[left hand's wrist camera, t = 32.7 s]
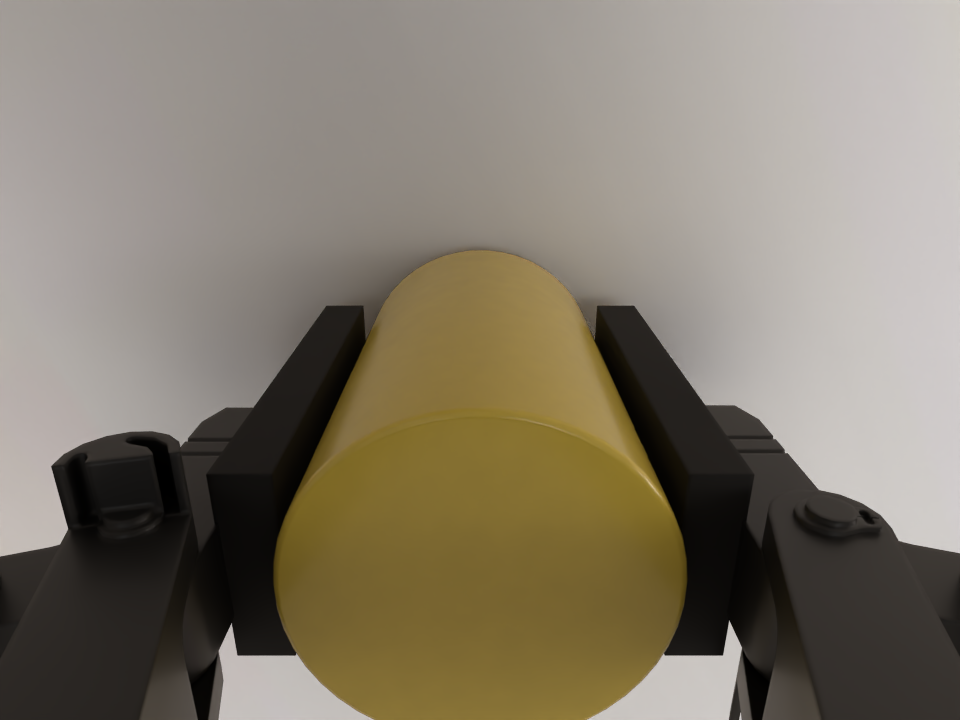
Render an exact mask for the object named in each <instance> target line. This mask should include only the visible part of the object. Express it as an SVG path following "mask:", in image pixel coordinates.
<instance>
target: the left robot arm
mask: <svg viewBox="0 0 960 720" xmlns="http://www.w3.org/2000/svg"><path fill="white" fill-rule="evenodd" d="M365 342H366V339H365V324H364V309H363V306H326V307H325V309H324V310H323V311H322V313H321V314H320V316H319V317H318V318H317V320H316V321H315V323H314V324H313V325H312V327H311V328H310V330H309V331H308V332H307V334H306V335H305V337H304V338H303V339H302V341H301V342H300V344H299V345H298V346H297V348H296V349H295V351H294V352H293V353H292V355H291V356H290V358H289V359H288V360H287V362H286V363H285V365H284V366H283V367H282V369H281V370H280V372H279V373H278V374H277V376H276V377H275V379H274V380H273V381H272V383H271V384H270V386H269V387H268V388H267V390H266V391H265V393H264V394H263V395H262V397H261V398H260V400H259V401H258V402H257V404H256V405H255V406H254V408H225V409H223V410H221V411H220V412H218V413H216V414H215V415H213V416H211V417H209V418H208V419H206V420H204V421H203V422H201V424H200V425H199V426H198V427H197V428H196V430H195V431H194V432H193V433H192V434H191V435H190V437H189V438H188V442H185V443H184V444H183V445H182V446H181V447H180V444H179V441H177V440H176V439H174V438H173V437H172V436H170V435H168V434H163V433H158V432H153V431H149V432H127V433H122V434H116V435H111V436H106V437H103V438H100V439H97V440H94V441H91V442H88V443H85V444H82V445H80V446H79V447H77V448H75V449H73V450H71V451H69V452H67V453H66V454H64V455H63V456H62V457H61V458H59V459H58V460H57V461H56V462H55V463H54V464H53V465H52V466H51V467H52V471H53V474H54V478H55V482H56V485H57V489H58V493H59V496H60V500H61V504H62V507H63V511H64V515H65V519H66V522H67V526H68V531H67V533H66V535H65V537H64V538H63V540H62V542H61V544H60V545H57V546H53V547H49V548H44V549H38V550H33V551H28V552H22V553H17V554H12V555H7V556H1V557H0V720H218V718H219V710H220V703H221V695H222V687H223V674H222V667H221V662H220V656H219V649H220V647H221V644H222V642H223V640H224V638H225V636H226V634H227V632H228V629H229V627H230V625H231V623H232V627H233V632H234V638H235V644H236V649H237V655H296V652H295V650H294V649H293V647H292V645H291V643H290V641H289V639H288V637H287V635H286V633H285V631H284V628H283V625H282V622H281V619H280V616H279V613H278V609H277V605H276V599H275V592H274V586H273V560H274V554H275V548H276V543H277V538H278V535H279V532H280V529H281V527H282V524H283V521H284V518H285V516H286V513H287V511H288V509H289V507H290V505H291V503H292V500H293V498H294V496H295V494H296V492H297V489H298V487H299V485H300V483H301V481H302V479H303V476H304V474H305V472H306V470H307V468H308V466H309V463H310V461H311V459H312V457H313V455H314V453H315V450H316V448H317V446H318V444H319V442H320V439H321V437H322V435H323V433H324V431H325V429H326V426H327V424H328V422H329V420H330V418H331V416H332V413H333V411H334V409H335V407H336V405H337V402H338V400H339V398H340V396H341V394H342V392H343V389H344V387H345V385H346V383H347V381H348V379H349V376H350V374H351V372H352V370H353V368H354V365H355V363H356V361H357V359H358V357H359V355H360V352H361V350H362V348H363V346H364V344H365ZM595 342H596V344H597V347H598V349H599V351H600V353H601V355H602V358H603V360H604V362H605V364H606V366H607V368H608V371H609V373H610V375H611V377H612V379H613V382H614V384H615V386H616V388H617V390H618V393H619V395H620V397H621V399H622V401H623V403H624V406H625V408H626V410H627V412H628V414H629V417H630V419H631V421H632V423H633V425H634V427H635V430H636V432H637V434H638V436H639V438H640V441H641V443H642V445H643V447H644V449H645V452H646V454H647V456H648V458H649V460H650V462H651V465H652V467H653V469H654V471H655V473H656V476H657V478H658V480H659V482H660V484H661V486H662V489H663V491H664V493H665V495H666V497H667V500H668V502H669V504H670V506H671V508H672V511H673V513H674V515H675V518H676V520H677V523H678V526H679V528H680V531H681V534H682V537H683V542H684V547H685V552H686V557H687V588H686V595H685V603H684V607H683V610H682V614H681V617H680V621H679V624H678V627H677V629H676V631H675V633H674V635H673V638H672V640H671V642H670V644H669V646H668V648H667V649H666V651H665V652H664V654H665V655H723V652H724V647H725V641H726V635H727V629H728V624H729V621H730V623H731V625H732V627H733V629H734V631H735V633H736V635H737V638H738V640H739V642H740V644H741V646H742V651H741V656H740V662H739V667H738V672H737V678H736V683H735V688H734V694H733V699H732V704H731V710H730V716H729V720H739V717H740V712H741V717H742V720H960V553H955V552H949V551H944V550H939V549H933V548H928V547H923V546H917V545H912V544H908V543H904V542H900V541H898V539H897V537H896V535H895V533H894V532H893V530H892V528H891V527H890V526H889V525H888V523H887V522H886V521H885V520H884V519H883V518H882V516H881V515H879V514H878V513H876V512H875V511H873V510H872V509H870V508H868V507H867V506H865V505H864V504H862V503H860V502H857V501H855V500H852V499H850V498H847V497H845V496H842V495H839V494H835V493H830V492H825V491H820V490H818V489H817V487H816V486H815V485H814V484H813V483H812V481H811V480H810V479H809V478H808V477H807V476H806V474H805V473H804V472H803V471H802V470H801V468H800V467H799V466H798V465H797V464H796V463H795V461H794V460H793V459H792V458H791V457H790V456H789V454H788V453H785V450H784V448H783V447H782V446H781V445H780V444H779V443H778V441H777V440H776V439H773V435H772V434H771V433H770V432H769V431H768V430H767V428H766V427H765V426H764V425H763V424H762V423H761V421H760V420H759V419H757V418H755V417H754V416H752V415H750V414H748V413H747V412H745V411H743V410H742V409H740V408H738V407H736V406H727V405H705V404H704V403H703V402H702V400H701V399H700V397H699V396H698V395H697V393H696V392H695V390H694V389H693V388H692V386H691V385H690V383H689V382H688V381H687V379H686V378H685V376H684V375H683V374H682V372H681V371H680V369H679V368H678V367H677V365H676V364H675V362H674V361H673V360H672V358H671V357H670V355H669V354H668V353H667V351H666V350H665V348H664V347H663V346H662V344H661V343H660V341H659V340H658V339H657V337H656V336H655V334H654V333H653V332H652V330H651V329H650V327H649V326H648V325H647V323H646V322H645V320H644V319H643V318H642V316H641V315H640V313H639V312H638V311H637V309H636V308H635V306H597V317H596V331H595Z"/></svg>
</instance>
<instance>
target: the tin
mask: <svg viewBox="0 0 960 720" xmlns="http://www.w3.org/2000/svg"><path fill="white" fill-rule="evenodd" d="M273 586H274V592H275V599H276V605H277V609H278V613H279V616H280V619H281V622H282V625H283V628H284V631H285V633H286V635H287V637H288V639H289V641H290V643H291V645H292V647H293V649H294V650H295V652H296V653H297V654H298V656H299V657H300V659H301V660H302V662H303V663H304V665H305V666H306V667H307V668H308V670H309V671H310V672H311V673H312V674H313V675H314V676H315V677H316V678H317V679H318V681H319V682H320V683H321V684H322V685H324V686H325V687H326V688H327V689H328V690H329V691H331V692H332V693H333V694H334V695H335V696H336V697H338V698H339V699H340V700H342V701H343V702H345V703H346V704H348V705H349V706H351V707H352V708H354V709H355V710H357V711H358V712H360V713H362V714H364V715H366V716H368V717H370V718H372V719H374V720H587V719H589V718H591V717H593V716H595V715H596V714H598V713H600V712H602V711H604V710H606V709H607V708H609V707H610V706H611V705H613V704H614V703H616V702H617V701H619V700H620V699H621V698H623V697H624V696H626V695H627V694H628V693H629V692H630V691H631V690H632V689H633V688H635V687H636V686H637V685H638V684H639V683H640V682H641V681H642V680H643V679H644V678H645V677H646V676H647V675H648V673H649V672H650V671H651V670H652V669H653V668H654V667H655V665H656V664H657V663H658V661H659V660H660V658H661V657H662V655H663V654H664V652H665V651H666V649H667V648H668V646H669V644H670V642H671V640H672V638H673V635H674V633H675V631H676V629H677V627H678V624H679V621H680V617H681V614H682V610H683V607H684V603H685V595H686V588H687V557H686V552H685V547H684V542H683V537H682V534H681V531H680V528H679V526H678V523H677V520H676V518H675V515H674V513H673V511H672V508H671V506H670V504H669V502H668V500H667V497H666V495H665V493H664V491H663V489H662V486H661V484H660V482H659V480H658V478H657V476H656V473H655V471H654V469H653V467H652V465H651V462H650V460H649V458H648V456H647V454H646V452H645V449H644V447H643V445H642V443H641V441H640V438H639V436H638V434H637V432H636V430H635V427H634V425H633V423H632V421H631V419H630V417H629V414H628V412H627V410H626V408H625V406H624V403H623V401H622V399H621V397H620V395H619V393H618V390H617V388H616V386H615V384H614V382H613V379H612V377H611V375H610V373H609V371H608V368H607V366H606V364H605V362H604V360H603V358H602V355H601V353H600V351H599V349H598V347H597V344H596V342H595V340H594V338H593V336H592V333H591V331H590V329H589V327H588V325H587V323H586V320H585V318H584V316H583V314H582V312H581V310H580V308H579V306H578V304H577V303H576V301H575V299H574V298H573V297H572V295H571V294H570V293H569V291H568V290H567V289H566V287H565V286H564V285H563V284H562V283H561V282H560V281H559V280H558V279H557V278H555V277H554V276H553V275H551V274H550V273H549V272H548V271H546V270H545V269H543V268H542V267H540V266H538V265H536V264H535V263H533V262H531V261H529V260H526V259H524V258H521V257H519V256H516V255H512V254H508V253H504V252H497V251H489V250H471V251H464V252H456V253H453V254H449V255H446V256H442V257H439V258H437V259H435V260H432V261H430V262H428V263H426V264H424V265H423V266H421V267H419V268H418V269H416V270H414V271H413V272H412V273H411V274H409V275H408V276H407V277H405V278H404V279H403V280H402V281H401V282H400V283H399V284H398V285H397V286H396V287H395V288H394V289H393V291H392V292H391V294H390V295H389V296H388V298H387V299H386V300H385V302H384V304H383V306H382V308H381V310H380V311H379V313H378V315H377V318H376V320H375V322H374V324H373V326H372V328H371V331H370V333H369V335H368V337H367V339H366V342H365V344H364V346H363V348H362V350H361V352H360V355H359V357H358V359H357V361H356V363H355V365H354V368H353V370H352V372H351V374H350V376H349V379H348V381H347V383H346V385H345V387H344V389H343V392H342V394H341V396H340V398H339V400H338V402H337V405H336V407H335V409H334V411H333V413H332V416H331V418H330V420H329V422H328V424H327V426H326V429H325V431H324V433H323V435H322V437H321V439H320V442H319V444H318V446H317V448H316V450H315V453H314V455H313V457H312V459H311V461H310V463H309V466H308V468H307V470H306V472H305V474H304V476H303V479H302V481H301V483H300V485H299V487H298V489H297V492H296V494H295V496H294V498H293V500H292V503H291V505H290V507H289V509H288V511H287V513H286V516H285V518H284V521H283V524H282V527H281V529H280V532H279V535H278V538H277V543H276V548H275V554H274V560H273Z"/></svg>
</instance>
